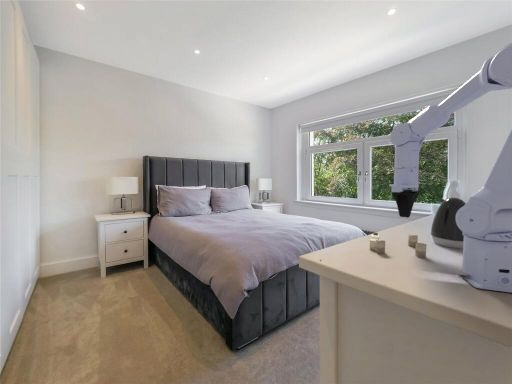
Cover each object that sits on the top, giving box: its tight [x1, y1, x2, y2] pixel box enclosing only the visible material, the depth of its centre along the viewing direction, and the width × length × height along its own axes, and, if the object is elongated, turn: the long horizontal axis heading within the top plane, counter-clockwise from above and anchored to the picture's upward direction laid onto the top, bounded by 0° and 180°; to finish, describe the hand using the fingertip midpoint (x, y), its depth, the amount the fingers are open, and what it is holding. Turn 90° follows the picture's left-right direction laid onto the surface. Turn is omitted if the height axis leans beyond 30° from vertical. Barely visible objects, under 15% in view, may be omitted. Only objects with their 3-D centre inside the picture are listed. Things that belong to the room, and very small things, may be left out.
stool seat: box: [374, 234, 427, 259], centre depth 64 cm, size 14×13×4 cm
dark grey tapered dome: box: [430, 197, 467, 250], centre depth 68 cm, size 10×10×15 cm
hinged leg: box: [369, 232, 380, 251], centre depth 67 cm, size 9×2×3 cm, turn 150°
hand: (404, 216), depth 65 cm, fingers closed
